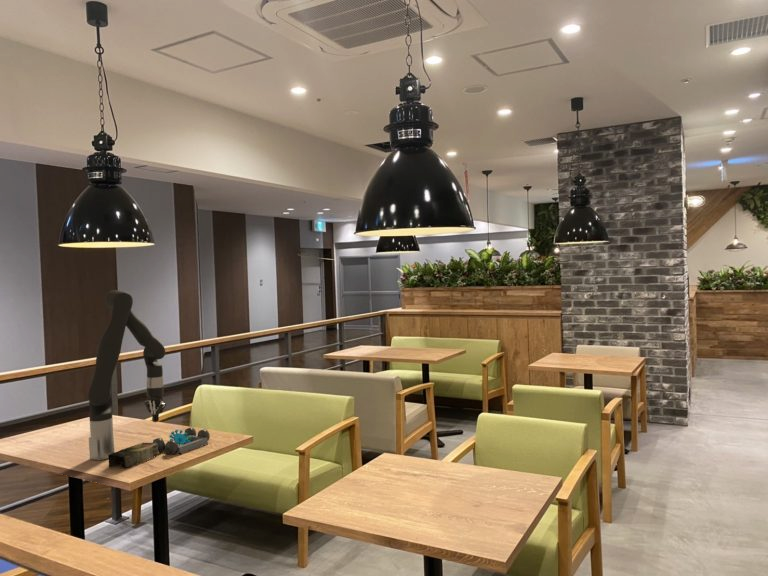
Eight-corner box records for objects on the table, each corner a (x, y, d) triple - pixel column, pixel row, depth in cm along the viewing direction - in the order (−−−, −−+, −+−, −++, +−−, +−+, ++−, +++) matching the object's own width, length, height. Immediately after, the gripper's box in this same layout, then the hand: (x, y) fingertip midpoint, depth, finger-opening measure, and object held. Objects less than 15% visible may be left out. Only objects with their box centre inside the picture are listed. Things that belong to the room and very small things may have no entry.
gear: (174, 447, 264) (167, 429, 269) (169, 455, 266) (161, 437, 271) (196, 444, 272) (188, 427, 277) (190, 452, 275) (183, 435, 280)
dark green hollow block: (144, 452, 264) (143, 439, 264) (161, 455, 260) (160, 441, 260) (107, 468, 246) (107, 454, 246) (125, 470, 242) (124, 456, 242)
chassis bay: (176, 455, 258) (175, 442, 258) (152, 451, 266) (152, 438, 265) (211, 442, 275) (210, 430, 275) (188, 438, 283) (187, 426, 283)
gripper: (138, 386, 278) (139, 421, 279) (158, 388, 272) (158, 425, 272) (151, 383, 285) (152, 418, 285) (170, 385, 279) (171, 421, 279)
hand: (155, 421), depth 279 cm, fingers closed
